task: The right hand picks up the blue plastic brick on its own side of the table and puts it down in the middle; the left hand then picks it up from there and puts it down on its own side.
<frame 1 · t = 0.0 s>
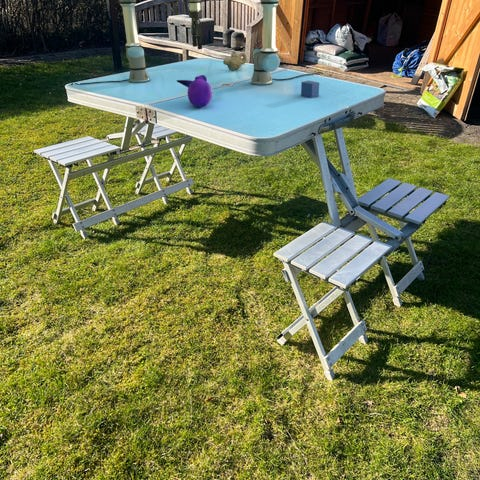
left hand: (196, 35, 349), 28 cm above the table, tool pointing down, fingers open, 13 cm apart
right hand: (197, 47, 287), 28 cm above the table, tool pointing down, fingers open, 13 cm apart
brick: (309, 96, 287), on the table
teapot: (235, 70, 371), on the table
toy: (196, 104, 273), on the table
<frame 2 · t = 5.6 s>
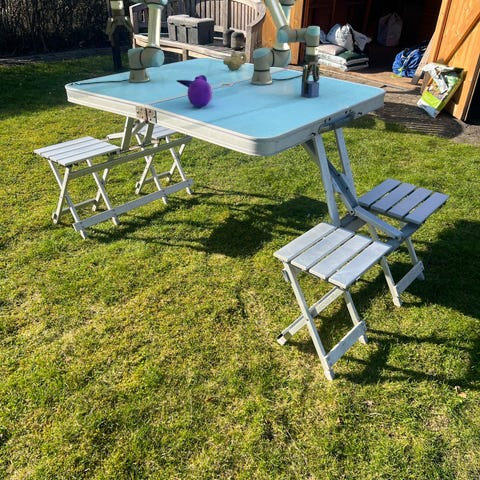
left hand: (122, 45, 292), 30 cm above the table, tool pointing down, fingers open, 13 cm apart
right hand: (309, 92, 286), 2 cm above the table, tool pointing down, fingers closed on brick, 7 cm apart
brick: (309, 96, 287), on the table, touching right hand
everything else where it was.
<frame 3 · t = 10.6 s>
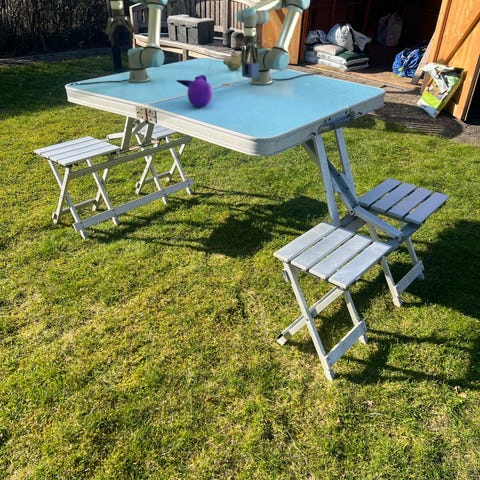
left hand: (122, 45, 292), 30 cm above the table, tool pointing down, fingers open, 13 cm apart
right hand: (250, 73, 295), 12 cm above the table, tool pointing down, fingers closed on brick, 7 cm apart
brick: (250, 76, 296), point 10 cm above the table, touching right hand
everything else where it was.
when the right hand's fingers open (3 cm above the table, at t = 15.4 s): brick drops 1 cm, on the table.
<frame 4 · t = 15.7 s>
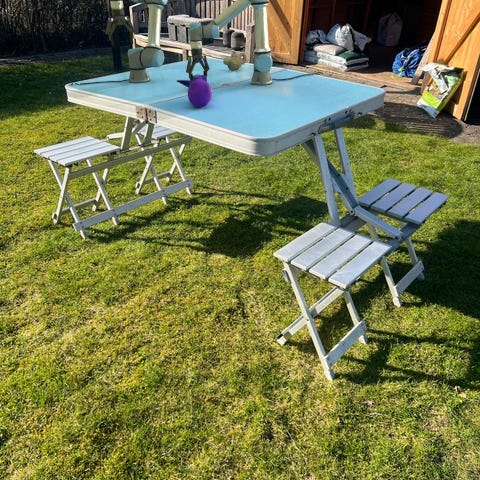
left hand: (122, 45, 292), 30 cm above the table, tool pointing down, fingers open, 13 cm apart
right hand: (198, 82, 311), 4 cm above the table, tool pointing down, fingers open, 11 cm apart
brick: (199, 88, 313), on the table
everything else where it was.
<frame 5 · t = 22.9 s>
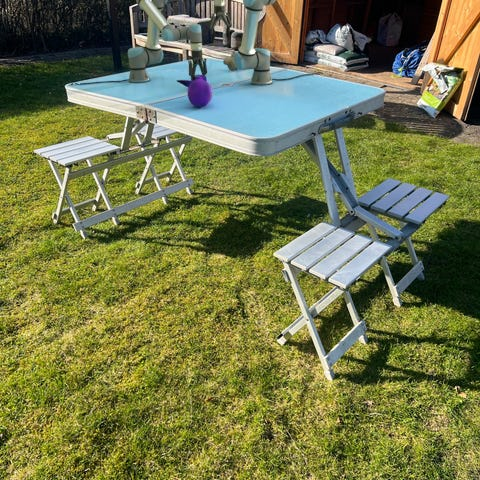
left hand: (198, 85, 312), 2 cm above the table, tool pointing down, fingers closed on brick, 7 cm apart
right hand: (220, 37, 331), 28 cm above the table, tool pointing down, fingers open, 13 cm apart
brick: (199, 88, 313), on the table, touching left hand
everything else where it was.
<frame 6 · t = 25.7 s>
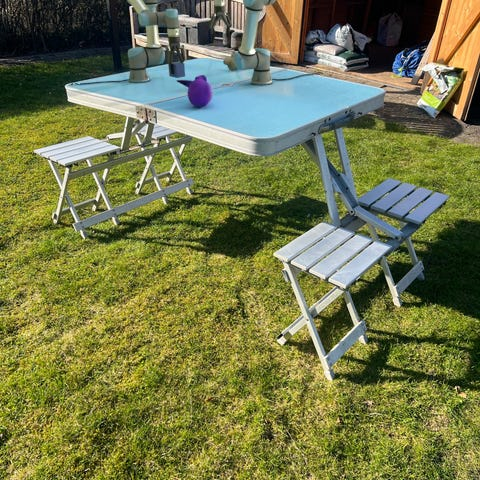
left hand: (176, 73, 301), 12 cm above the table, tool pointing down, fingers closed on brick, 7 cm apart
right hand: (220, 37, 331), 28 cm above the table, tool pointing down, fingers open, 13 cm apart
brick: (177, 76, 302), point 10 cm above the table, touching left hand
everything else where it was.
when the left hand's fingers open (3 cm above the table, at t = 28.5 s): brick drops 1 cm, on the table.
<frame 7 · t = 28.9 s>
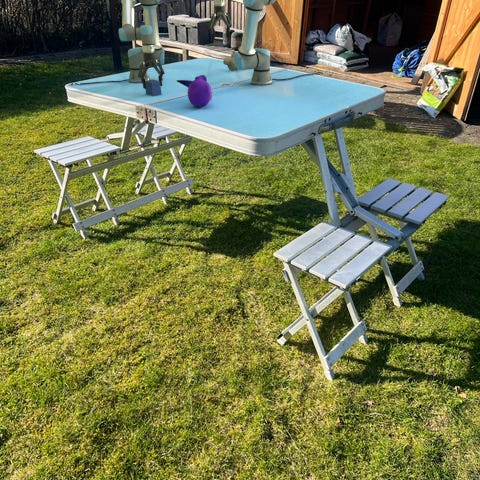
left hand: (152, 87, 298), 4 cm above the table, tool pointing down, fingers open, 11 cm apart
right hand: (220, 37, 331), 28 cm above the table, tool pointing down, fingers open, 13 cm apart
brick: (153, 94, 300), on the table
everything else where it was.
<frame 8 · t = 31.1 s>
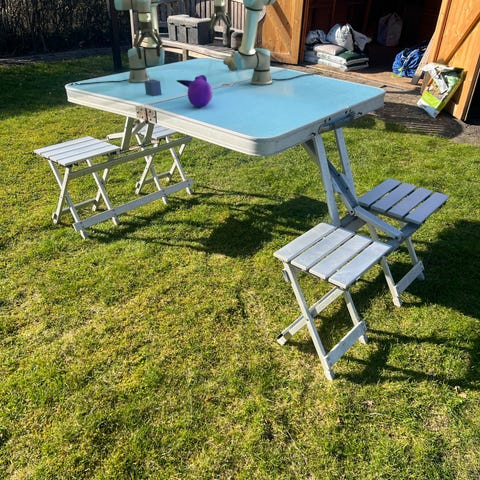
left hand: (149, 57, 289), 23 cm above the table, tool pointing down, fingers open, 13 cm apart
right hand: (220, 37, 331), 28 cm above the table, tool pointing down, fingers open, 13 cm apart
nothing on the table moved.
at the end: brick inside the target area (0.1 cm from its centre), on the table; brick tilted 0°; the two hands never held the brick at the same time; the left hand is holding nothing; the right hand is holding nothing; brick at rest at the end (0.0 cm/s) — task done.
